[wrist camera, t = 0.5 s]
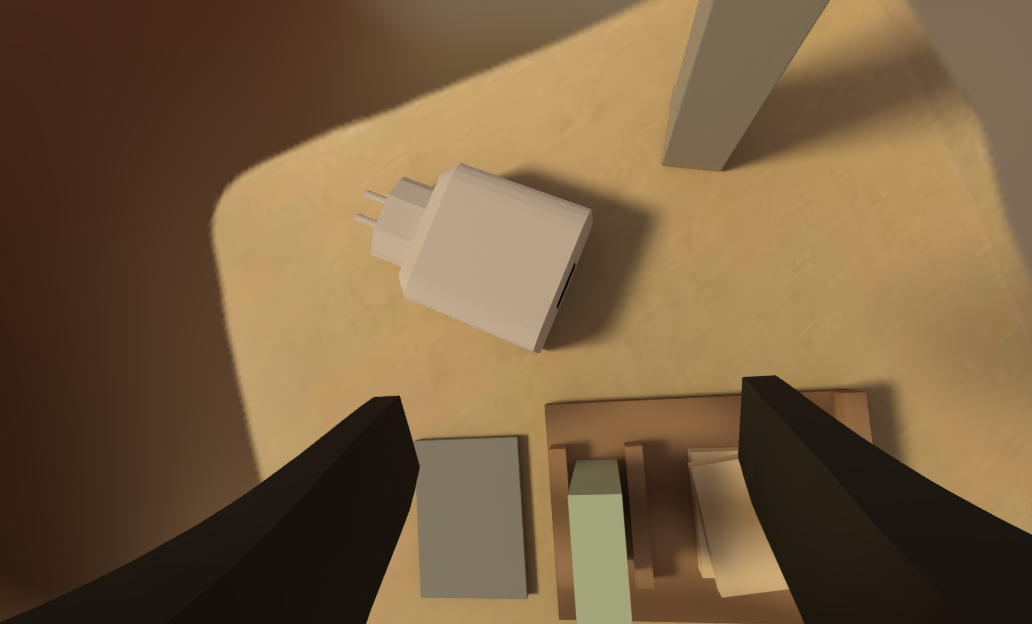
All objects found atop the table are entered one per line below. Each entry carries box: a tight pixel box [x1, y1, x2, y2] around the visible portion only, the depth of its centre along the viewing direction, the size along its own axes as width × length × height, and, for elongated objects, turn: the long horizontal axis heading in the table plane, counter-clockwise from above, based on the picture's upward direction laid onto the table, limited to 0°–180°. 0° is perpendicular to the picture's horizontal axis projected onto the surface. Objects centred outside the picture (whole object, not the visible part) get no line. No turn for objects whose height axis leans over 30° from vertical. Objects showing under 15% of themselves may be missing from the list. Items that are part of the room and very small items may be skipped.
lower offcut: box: [688, 447, 738, 578], centre depth 29 cm, size 7×5×1 cm
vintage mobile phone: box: [661, 0, 830, 171], centre depth 21 cm, size 4×5×25 cm
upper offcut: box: [687, 454, 789, 598], centre depth 28 cm, size 7×5×1 cm
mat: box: [414, 436, 528, 599], centre depth 33 cm, size 10×7×1 cm
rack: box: [545, 389, 873, 624], centre depth 30 cm, size 13×18×2 cm
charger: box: [355, 163, 593, 353], centre depth 33 cm, size 5×9×15 cm
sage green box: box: [568, 459, 632, 624], centre depth 27 cm, size 6×2×8 cm, turn 3°
